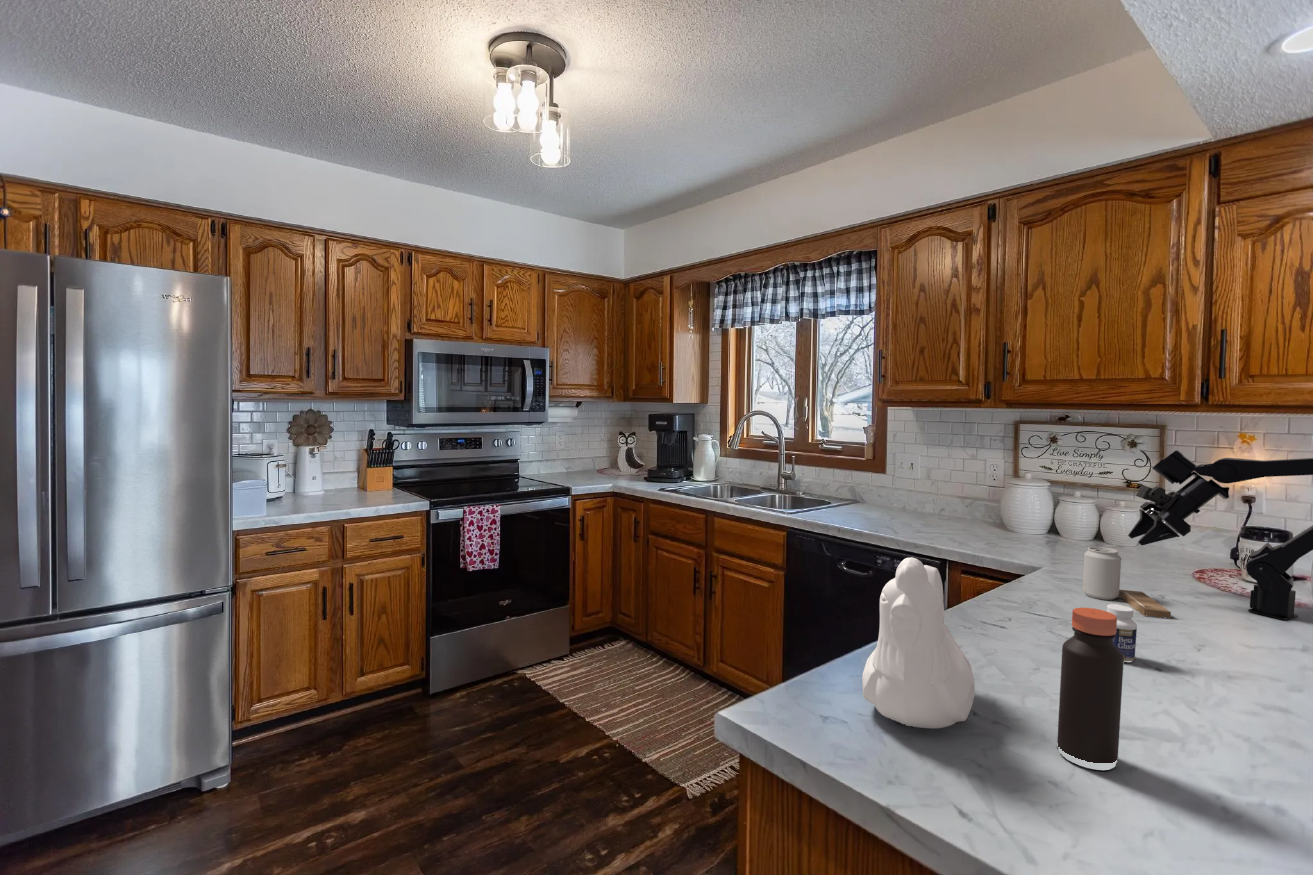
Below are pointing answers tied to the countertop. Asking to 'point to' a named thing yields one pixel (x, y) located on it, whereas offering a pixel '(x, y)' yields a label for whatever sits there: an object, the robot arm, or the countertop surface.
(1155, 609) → the plank
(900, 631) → the decorative rooster
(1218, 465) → the robot arm
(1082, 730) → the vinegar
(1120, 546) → the countertop surface
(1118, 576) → the can
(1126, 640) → the pill bottle
